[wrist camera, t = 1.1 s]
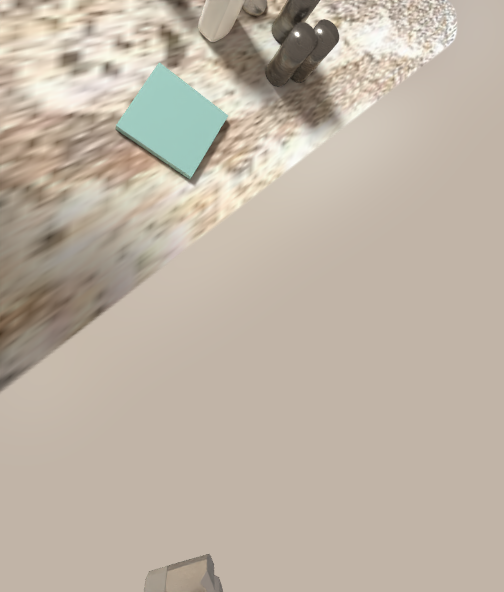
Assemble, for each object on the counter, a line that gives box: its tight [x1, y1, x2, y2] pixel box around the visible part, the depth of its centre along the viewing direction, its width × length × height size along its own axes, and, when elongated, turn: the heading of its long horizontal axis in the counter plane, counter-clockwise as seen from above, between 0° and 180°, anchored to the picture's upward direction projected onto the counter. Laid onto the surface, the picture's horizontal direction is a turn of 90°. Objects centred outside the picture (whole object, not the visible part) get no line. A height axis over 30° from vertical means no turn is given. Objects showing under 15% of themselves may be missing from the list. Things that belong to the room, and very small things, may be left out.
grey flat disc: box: [242, 0, 267, 16], centre depth 46 cm, size 4×4×1 cm
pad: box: [116, 63, 228, 179], centre depth 41 cm, size 9×9×1 cm
